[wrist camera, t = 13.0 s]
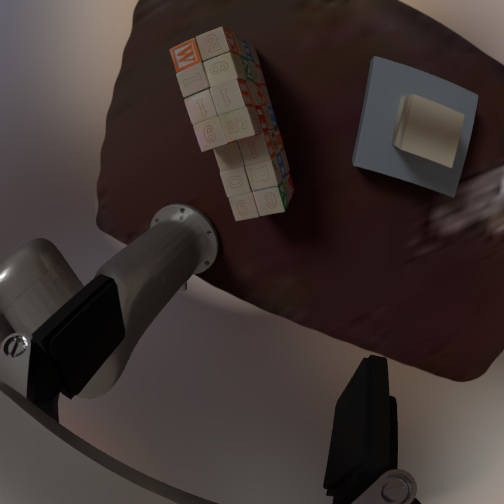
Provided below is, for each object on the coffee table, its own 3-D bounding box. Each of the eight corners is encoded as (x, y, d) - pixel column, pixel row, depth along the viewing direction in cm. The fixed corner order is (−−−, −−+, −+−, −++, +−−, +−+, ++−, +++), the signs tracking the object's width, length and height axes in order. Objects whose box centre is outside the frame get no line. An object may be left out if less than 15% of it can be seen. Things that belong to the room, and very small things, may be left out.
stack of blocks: (296, 191, 41) (280, 223, 31) (254, 199, 43) (225, 232, 33) (254, 46, 33) (221, 24, 22) (213, 60, 35) (167, 48, 25)
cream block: (435, 158, 30) (451, 168, 25) (390, 143, 31) (401, 149, 26) (445, 113, 27) (464, 114, 22) (400, 96, 28) (413, 93, 23)
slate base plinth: (444, 189, 34) (453, 197, 31) (351, 160, 37) (353, 165, 33) (466, 95, 27) (478, 95, 24) (370, 61, 30) (374, 55, 26)
